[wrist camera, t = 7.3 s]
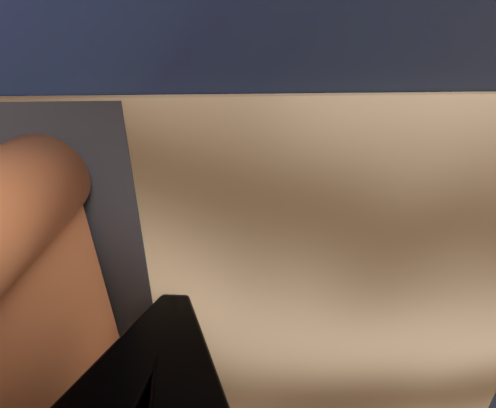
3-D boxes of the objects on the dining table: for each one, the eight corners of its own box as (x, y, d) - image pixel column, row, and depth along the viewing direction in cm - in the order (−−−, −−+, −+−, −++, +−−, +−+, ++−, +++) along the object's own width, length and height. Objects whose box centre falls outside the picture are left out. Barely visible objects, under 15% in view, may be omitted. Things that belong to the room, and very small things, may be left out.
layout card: (437, 490, 15) (444, 503, 15) (-129, 539, 14) (-140, 555, 13) (618, 89, 8) (640, 92, 7) (-572, 102, 6) (-627, 106, 6)
